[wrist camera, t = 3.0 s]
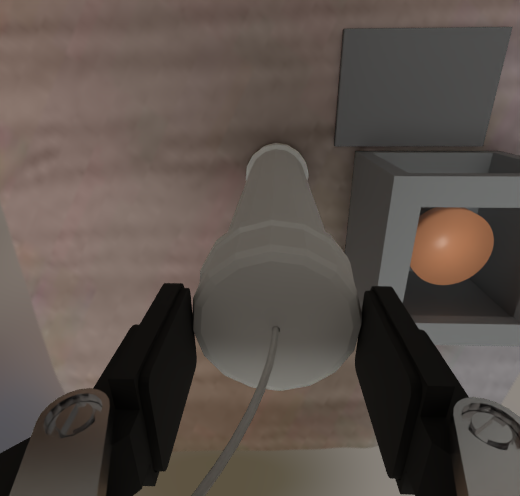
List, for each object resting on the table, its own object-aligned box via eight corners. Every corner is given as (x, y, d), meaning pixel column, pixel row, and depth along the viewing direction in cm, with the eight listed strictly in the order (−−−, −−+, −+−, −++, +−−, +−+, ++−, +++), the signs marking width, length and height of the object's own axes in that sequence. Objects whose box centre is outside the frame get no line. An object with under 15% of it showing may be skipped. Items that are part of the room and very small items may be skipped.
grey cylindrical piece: (315, 184, 33) (513, 630, 5) (257, 211, 34) (175, 680, 7) (291, 129, 31) (400, 382, 3) (230, 161, 32) (-37, 522, 5)
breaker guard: (355, 151, 31) (394, 176, 21) (500, 151, 31) (609, 176, 21) (342, 276, 37) (368, 343, 27) (466, 277, 36) (540, 346, 26)
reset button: (403, 199, 29) (416, 210, 26) (481, 200, 28) (504, 210, 26) (391, 268, 31) (403, 284, 28) (463, 268, 31) (482, 285, 28)
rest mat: (343, 30, 28) (344, 28, 27) (507, 28, 27) (512, 26, 27) (334, 145, 31) (335, 146, 31) (479, 145, 31) (482, 146, 30)
